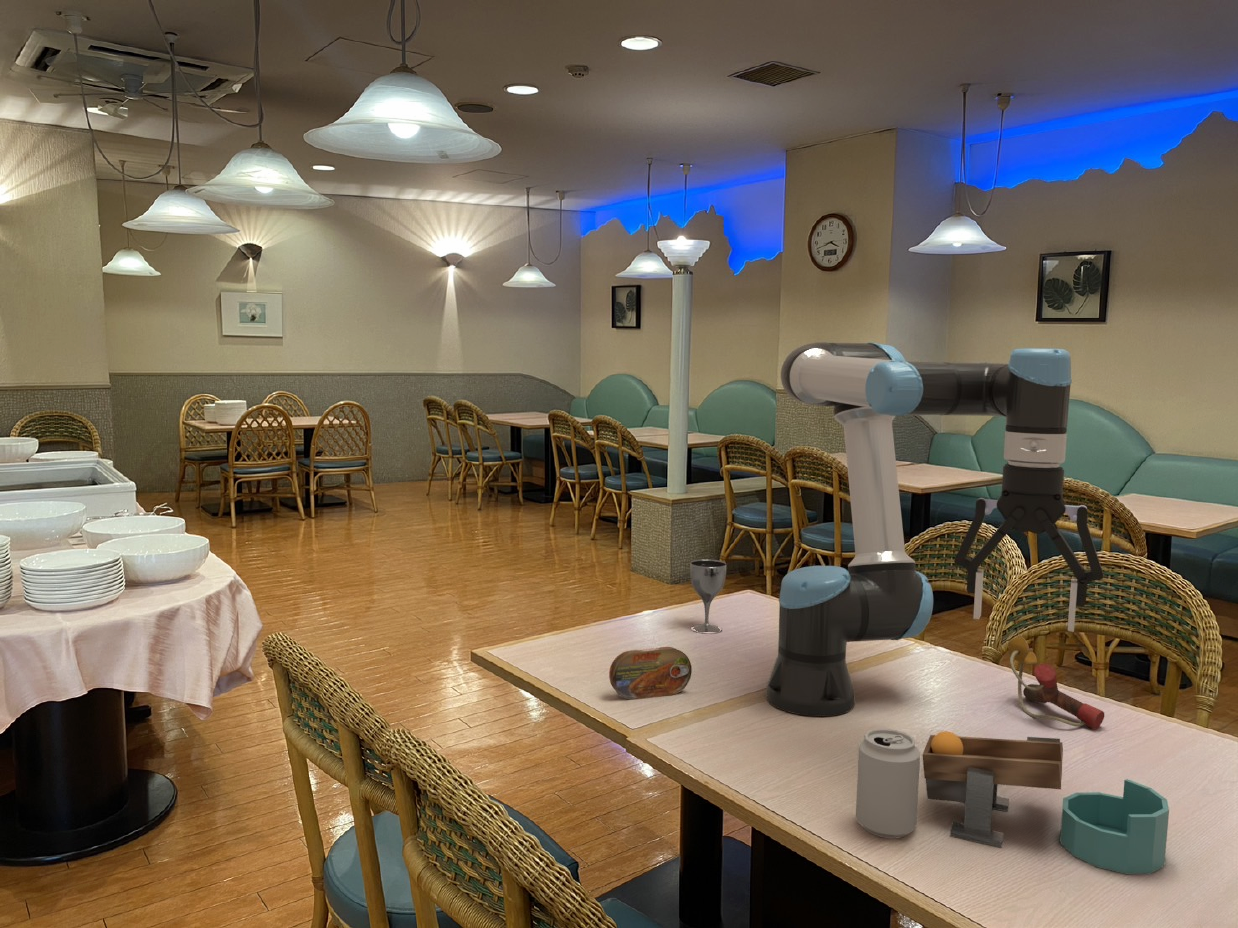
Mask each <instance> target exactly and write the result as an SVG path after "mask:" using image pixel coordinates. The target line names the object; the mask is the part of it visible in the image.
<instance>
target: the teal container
mask: <svg viewBox="0 0 1238 928" xmlns="http://www.w3.org/2000/svg"><path fill="white" fill-rule="evenodd" d="M1061 809H1062V810H1061V822H1060V835H1059V836H1060V837H1059V839H1060V840H1059V841H1060V842H1059V843H1060V844H1061V845H1062V847H1064V848H1065V849H1066V850H1067V851H1068V852H1069V853H1070V854H1071V855H1072V856H1073V857H1075V858H1078V859H1080V860H1082V861H1084V862H1086V863H1088V864H1090V865H1092V866H1094V867H1096V868H1099V869H1105V870H1108V871H1113V872H1117V873H1119V874H1120V873H1121V874H1126V875H1131V874H1132V875H1139V874H1141V875H1143V874H1147V875H1148V874H1149V875H1150V874H1153V873H1154V872H1157V871H1158V870H1160V869H1162V868H1163V867H1165V863H1166V851H1167V840H1168V831H1169V830H1168V829H1169V827H1168V826H1169V814H1170V808H1169V803H1168V799H1166V798H1165V797H1164V796H1163V795H1161V794H1160V793H1159V792H1157V791H1156V790H1155V789H1154V788H1151V787H1149V786H1146V785H1143V784H1141V783H1139V782H1136V781H1133V780H1132V779H1128V778H1126V779H1124V781H1123V794H1122V796H1118V795H1113V794H1110V793H1109V794H1108V793H1105V792H1100V791H1099V792H1098V791H1096V792H1095V791H1093V792H1092V791H1091V792H1090V791H1088V792H1086V791H1085V792H1075V793H1072V794H1070V795H1067V796H1065V797H1063V798H1062V807H1061Z"/></svg>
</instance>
